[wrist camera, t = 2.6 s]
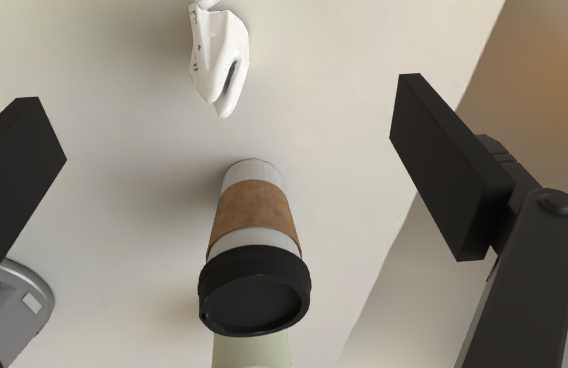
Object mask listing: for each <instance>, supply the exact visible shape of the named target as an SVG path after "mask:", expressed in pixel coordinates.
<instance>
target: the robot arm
mask: <svg viewBox="0 0 568 368" xmlns="http://www.w3.org/2000/svg"><path fill="white" fill-rule="evenodd" d="M389 139H390V140H391V142H392V144H393V146H394V148H395V150H396V151H397V153H398V155H399V157H400V159H401V161H402V162H403V164H404V166H405V168H406V170H407V171H408V173H409V175H410V177H411V179H412V181H413V182H414V184H415V186H416V188H417V190H418V192H419V193H420V195H421V197H422V199H423V201H424V203H425V204H426V206H427V208H428V210H429V212H430V213H431V215H432V217H433V219H434V221H435V223H436V224H437V226H438V228H439V230H440V232H441V233H442V235H443V237H444V239H445V241H446V243H447V244H448V246H449V248H450V250H451V252H452V254H453V255H454V257H455V259H456V261H457V262H462V261H475V260H484V258H485V256H486V253H487V251H488V249H489V246H490V245H491V246H492V248H493V249H494V251H495V252H496V254H497V255H498V257H497V259H496V261H495V263H494V266H493V267H492V270H491V272H490V274H489V276H488V278H487V280H486V282H487V284H486V286H485V289H484V292H483V294H482V296H481V299H480V302H479V304H478V307H477V309H476V312H475V314H474V317H473V320H472V322H471V325H470V328H469V330H468V332H467V335H466V338H465V340H464V343H463V345H462V348H461V350H460V353H459V356H458V358H457V361H456V363H455V366H454V368H561V365H562V359H563V354H564V348H565V342H566V337H567V331H568V194H567V193H564V192H562V191H560V190H555V189H550V188H543V187H542V186H541V185H540V184H539V183H538V182H537V181H536V180H535V179H534V178H533V177H532V176H531V175H530V174H529V173H528V172H527V171H526V169H524V167H523V166H522V165H521V164H520V163H518V162H517V160H516V159H515V158H514V157H513V156H512V155H511V154H509V152H508V151H507V150H506V149H505V148H504V147H503V145H502V144H501V143H500V142H498V141H496V140H494V139H493V138H491V137H489V136H487V135H486V134H479V135H474V134H473V133H472V132H471V130H470V129H469V128H468V127H467V126H466V125H465V124H464V123H463V122H462V120H461V119H460V118H459V117H458V116H457V115H456V113H455V112H454V111H453V110H452V109H451V108H450V107H449V106H448V104H447V103H446V102H445V101H444V100H443V99H442V98H441V97H440V95H439V94H438V93H437V92H436V91H435V90H434V89H433V88H432V86H431V85H430V84H429V83H428V82H427V81H426V80H425V79H424V77H423V76H422V75H421V74H420V73H413V74H399V79H398V86H397V92H396V98H395V105H394V111H393V117H392V124H391V130H390V136H389ZM66 161H67V158H66V156H65V154H64V152H63V150H62V147H61V145H60V143H59V141H58V139H57V137H56V134H55V132H54V130H53V128H52V126H51V124H50V121H49V119H48V117H47V115H46V113H45V111H44V108H43V106H42V104H41V102H40V100H39V98H38V97H23V98H16V99H15V100H13V101H12V102H11V103H10V104H9V105H8V106H7V107H6V108H5V109H4V110H3V111H2V112H1V113H0V368H8V367H9V365H10V364H11V363H12V362H13V361H14V360H15V358H16V357H17V356H18V355H19V354H20V353H21V351H22V350H23V349H24V348H25V347H26V346H27V344H28V343H29V342H30V341H31V339H32V338H34V337H35V336H36V335H37V334H38V333H39V332H40V331H41V330H42V329H43V328H44V326H45V325H46V323H47V322H48V320H49V318H50V315H51V313H52V311H53V308H54V297H53V294H52V292H51V290H50V288H49V287H48V286H47V284H46V283H45V282H44V281H43V280H42V279H41V278H40V277H38V276H37V275H36V274H34V273H33V272H32V271H30V270H29V269H27V268H25V267H23V266H21V265H19V264H17V263H15V262H13V261H10V260H8V259H5V256H6V254H7V253H8V251H9V250H10V248H11V247H12V245H13V244H14V242H15V240H16V239H17V237H18V236H19V234H20V233H21V231H22V230H23V228H24V226H25V225H26V223H27V222H28V220H29V219H30V217H31V216H32V214H33V212H34V211H35V209H36V208H37V206H38V205H39V203H40V202H41V200H42V198H43V197H44V195H45V194H46V192H47V191H48V189H49V188H50V186H51V184H52V183H53V181H54V180H55V178H56V177H57V175H58V174H59V172H60V170H61V169H62V167H63V166H64V164H65V163H66Z"/></svg>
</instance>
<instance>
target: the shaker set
mask: <svg viewBox="0 0 568 368" xmlns="http://www.w3.org/2000/svg"><path fill="white" fill-rule="evenodd" d="M219 1H220V0H195V3H193V4H191V5H189V7H188V9H189V12H190V20H191V28H192V35H193V42H194V43H193V48H192V55H191V61H190V69H189V72H190V76H191V79H192V81H193V83H194V85H195V87H196V89H197V91H198V92H199V94H200V95H201V97H202V98H203V99H204V101H205V102H206V103H208V104H210V103H213V102H214V104H215V108H216V111H217V114H218V116H219V118H221V119H224V118H226V117H228V116H229V115H230V114H231V113H232V111H233V110H234V108H235V106H236V104H237V101H238V98H239V95H240V93H241V90H242V87H243V84H244V81H245V78H246V74H247V71H248V67H249V64H250V63H251V62H250V60H249V46H248V32H247V30H246V28H245V26H244V24H243V22H242V21H241V20H240V19H238V17H237V16H235V15H234V14H233V13H231V12H230V11H229V10H223V11H222V12H220V11H213V12H208V11H207V10H206V9H209V8H210V7H212V6H214V5H215V4H216V3H218V2H219ZM192 11H195V14H196V17H195V14H193V13H194V12H192ZM191 12H192V13H191ZM236 61H237V62H236Z"/></svg>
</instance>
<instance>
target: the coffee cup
mask: <svg viewBox="0 0 568 368" xmlns="http://www.w3.org/2000/svg"><path fill="white" fill-rule="evenodd" d="M311 287H312V285H311V279H310V273H309V270H308V268H307V266H306V264H305V263H304V262H303V260H302V251H301V247H300V243H299V240H298V236H297V233H296V229H295V226H294V222H293V219H292V215H291V211H290V208H289V204H288V201H287V198H286V195H285V190H284V186H283V182H282V179H281V176H280V173H279V172H278V170H277V169H276V168H275V167H274V166H273V165H271V164H269V163H267V162H265V161H262V160H257V159H249V160H244V161H240V162H238V163H236V164H234V165H233V166H232V167H230V168H229V170H228V171H227V172H226V174H225V176H224V179H223V184H222V189H221V194H220V199H219V202H218V206H217V211H216V215H215V219H214V223H213V228H212V232H211V236H210V241H209V245H208V249H207V254H206V264H205V266H204V267H203V269H202V271H201V273H200V276H199V283H198V296H199V318H200V319H201V321H202V322H203V323H204V324H205V326H206V327H207V328H209V329H210V330H211V331H213V332H214V333H216V334H219V335H222V336H226V337H236V338H244V337H257V336H263V335H268V334H272V333H276V332H279V331H282V330H284V329H287V328H289V327H291V326H293V325H294V324H296V323H297V322H299V321H300V320H301V319H302V318H303V317H304V316H305V314H306V313H307V311H308V309H309V305H310V292H311Z"/></svg>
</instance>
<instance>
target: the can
mask: <svg viewBox="0 0 568 368" xmlns="http://www.w3.org/2000/svg"><path fill="white" fill-rule="evenodd" d="M212 368H292V367H291V358H290V348H289V338H288V328H287V329H284V330H282V331H279V332H276V333H272V334H268V335H263V336H257V337H244V338H236V337H226V336H222V335H219V334H216V333H214V344H213V357H212Z"/></svg>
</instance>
